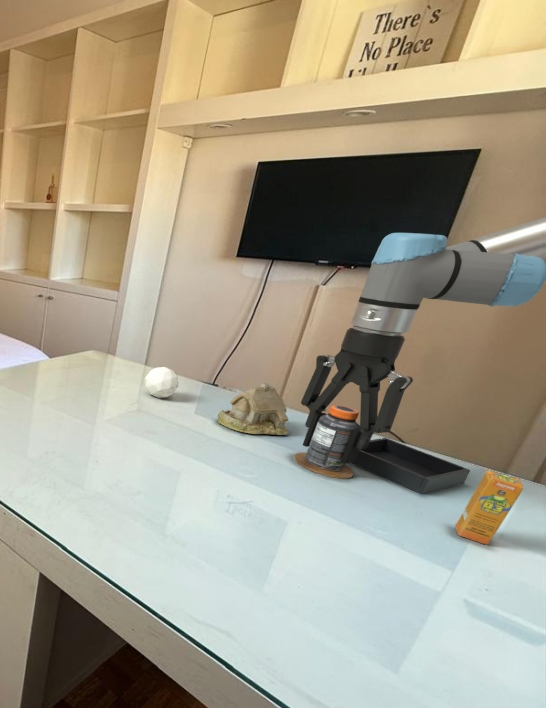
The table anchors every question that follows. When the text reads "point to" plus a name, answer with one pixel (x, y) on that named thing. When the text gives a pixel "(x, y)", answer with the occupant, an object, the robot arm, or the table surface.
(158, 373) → the geometric ball
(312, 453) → the pill bottle
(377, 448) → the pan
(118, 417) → the table surface
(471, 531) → the supplement box
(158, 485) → the table surface
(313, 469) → the coaster
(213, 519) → the table surface
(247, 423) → the ceramic model
